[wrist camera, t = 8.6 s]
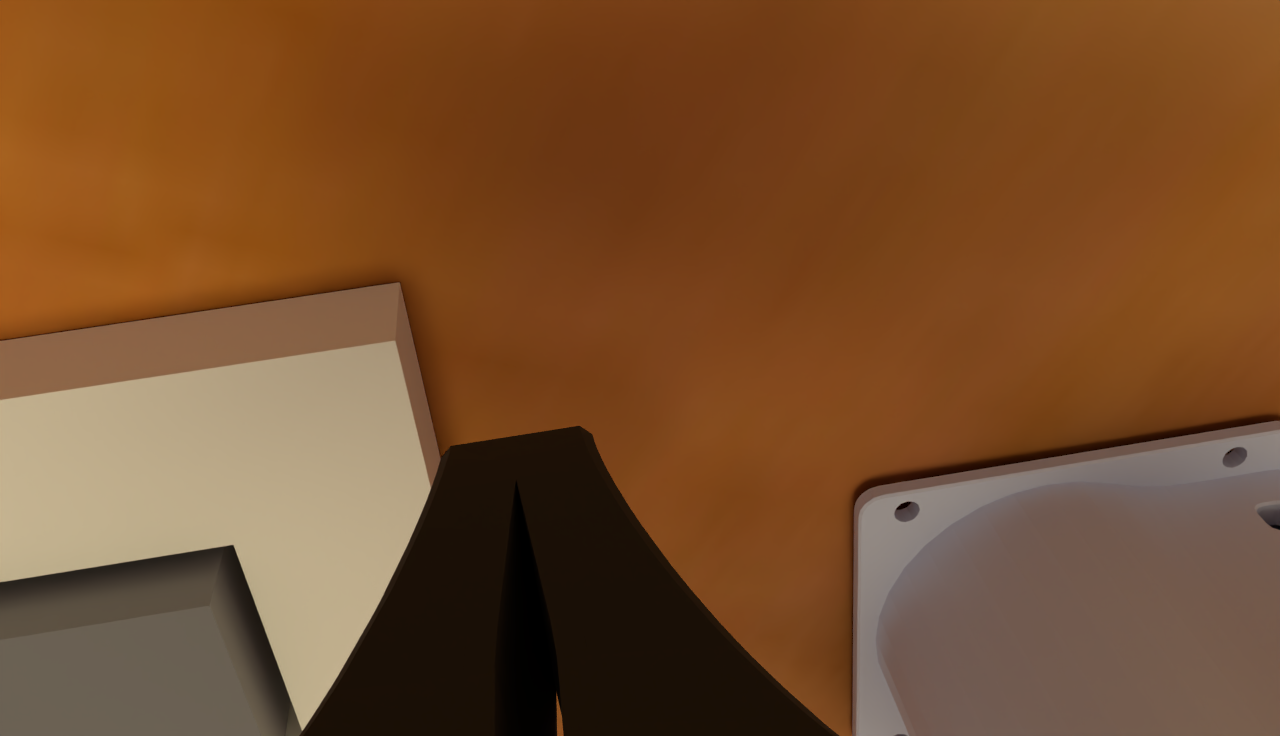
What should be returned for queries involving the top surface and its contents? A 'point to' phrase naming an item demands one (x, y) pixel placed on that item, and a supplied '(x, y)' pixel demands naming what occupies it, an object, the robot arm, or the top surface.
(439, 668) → the robot arm
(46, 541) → the button panel
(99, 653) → the button two
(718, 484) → the top surface
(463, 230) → the top surface
